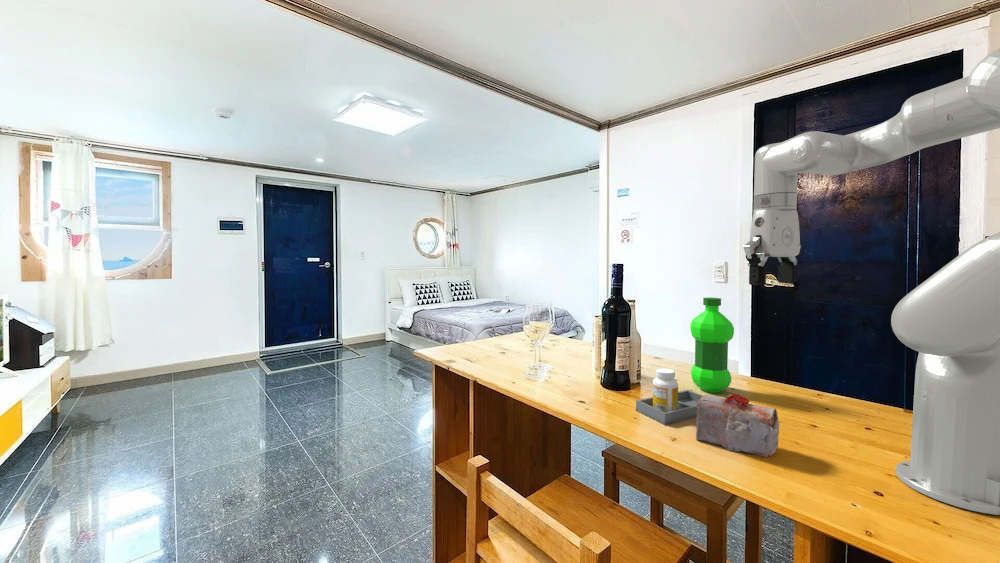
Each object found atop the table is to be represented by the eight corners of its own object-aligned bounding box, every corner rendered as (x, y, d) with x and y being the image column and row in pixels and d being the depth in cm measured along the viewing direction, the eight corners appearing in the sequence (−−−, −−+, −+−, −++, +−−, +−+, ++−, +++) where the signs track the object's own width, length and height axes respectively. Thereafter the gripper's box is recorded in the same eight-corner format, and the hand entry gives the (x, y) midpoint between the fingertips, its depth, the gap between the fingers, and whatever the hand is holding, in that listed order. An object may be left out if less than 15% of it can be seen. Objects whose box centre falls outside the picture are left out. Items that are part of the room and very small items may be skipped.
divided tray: (718, 411, 90) (718, 401, 90) (664, 425, 84) (664, 413, 84) (687, 399, 98) (687, 389, 98) (636, 410, 92) (636, 400, 92)
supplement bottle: (672, 407, 92) (672, 367, 91) (681, 416, 86) (682, 374, 86) (649, 407, 92) (649, 367, 92) (657, 416, 87) (657, 374, 86)
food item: (779, 447, 74) (780, 396, 73) (777, 465, 67) (779, 410, 67) (700, 428, 82) (700, 383, 81) (692, 443, 76) (693, 394, 75)
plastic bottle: (691, 393, 102) (692, 300, 101) (688, 381, 112) (690, 295, 110) (734, 398, 98) (737, 301, 97) (728, 385, 108) (730, 296, 107)
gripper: (766, 200, 75) (763, 287, 77) (818, 203, 82) (815, 283, 83) (730, 204, 82) (728, 284, 83) (781, 207, 89) (779, 281, 90)
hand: (772, 283), depth 83 cm, fingers open, 9 cm apart
